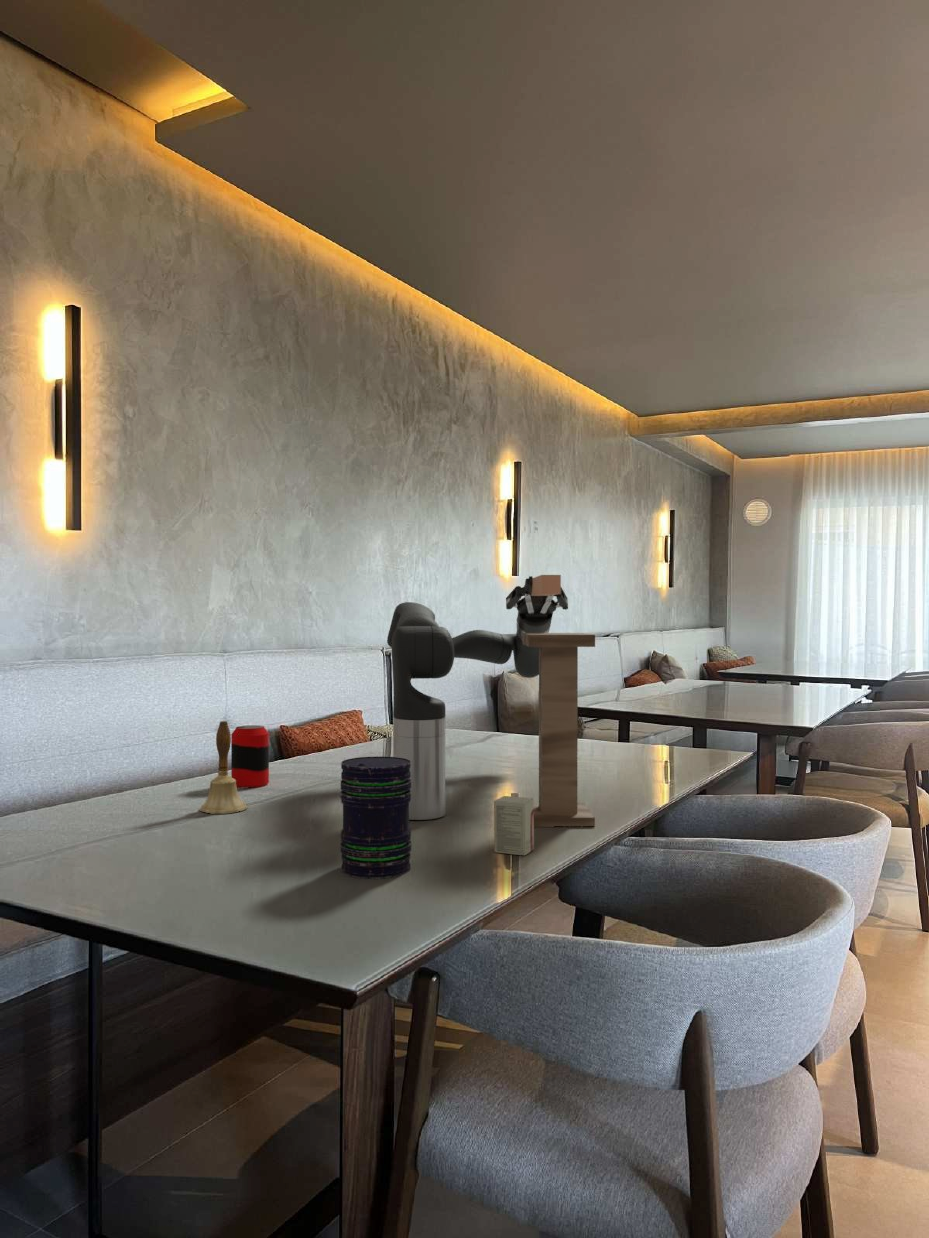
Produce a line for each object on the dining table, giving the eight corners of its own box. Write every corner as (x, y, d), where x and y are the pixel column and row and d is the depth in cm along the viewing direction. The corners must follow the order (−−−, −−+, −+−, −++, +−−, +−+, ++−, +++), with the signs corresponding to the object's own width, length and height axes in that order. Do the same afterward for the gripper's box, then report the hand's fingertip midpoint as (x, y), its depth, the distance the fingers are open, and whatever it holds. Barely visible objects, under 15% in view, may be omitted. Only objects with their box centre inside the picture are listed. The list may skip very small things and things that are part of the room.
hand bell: (196, 807, 172) (195, 720, 172) (241, 803, 176) (241, 718, 175) (203, 816, 165) (203, 725, 164) (251, 811, 168) (251, 722, 168)
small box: (535, 849, 141) (535, 797, 141) (525, 856, 138) (525, 802, 137) (503, 846, 144) (503, 794, 143) (493, 852, 140) (493, 799, 139)
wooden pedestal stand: (594, 826, 157) (595, 634, 156) (528, 826, 156) (529, 634, 156) (582, 808, 171) (583, 632, 170) (522, 809, 170) (522, 632, 170)
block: (560, 593, 173) (560, 574, 173) (541, 593, 173) (541, 574, 173) (547, 595, 197) (547, 579, 197) (530, 595, 197) (530, 579, 197)
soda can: (230, 782, 197) (230, 725, 197) (267, 780, 199) (267, 724, 199) (232, 789, 190) (232, 729, 189) (270, 787, 192) (270, 728, 192)
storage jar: (376, 855, 138) (376, 754, 138) (426, 867, 132) (426, 760, 131) (325, 870, 130) (325, 762, 130) (376, 883, 124) (376, 770, 124)
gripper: (566, 635, 206) (576, 595, 191) (502, 635, 206) (506, 595, 191) (564, 606, 210) (574, 564, 195) (501, 606, 209) (505, 564, 194)
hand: (540, 580), depth 193 cm, fingers closed on block, 3 cm apart
